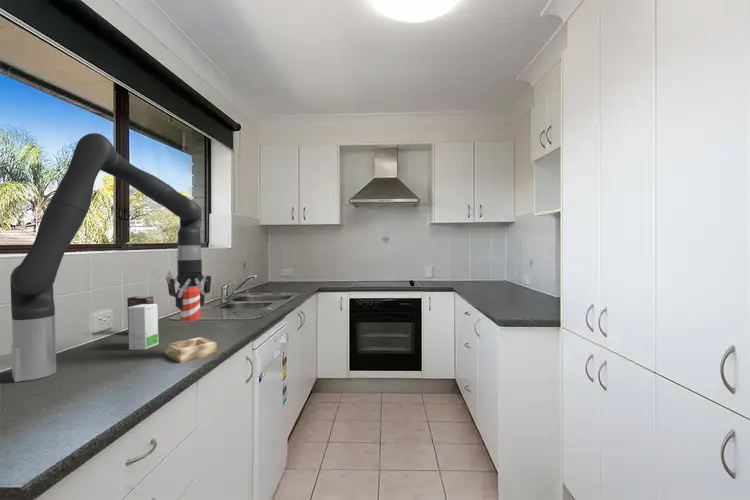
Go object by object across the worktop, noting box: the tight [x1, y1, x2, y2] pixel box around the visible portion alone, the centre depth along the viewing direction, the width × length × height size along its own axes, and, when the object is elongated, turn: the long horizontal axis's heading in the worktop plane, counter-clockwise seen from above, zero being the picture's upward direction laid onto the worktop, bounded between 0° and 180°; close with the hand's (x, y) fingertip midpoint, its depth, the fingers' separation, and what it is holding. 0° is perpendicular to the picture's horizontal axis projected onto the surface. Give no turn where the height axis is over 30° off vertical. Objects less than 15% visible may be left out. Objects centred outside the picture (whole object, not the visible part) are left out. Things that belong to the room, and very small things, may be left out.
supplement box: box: [126, 296, 154, 336], centre depth 156 cm, size 9×5×16 cm, turn 84°
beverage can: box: [179, 286, 201, 323], centre depth 127 cm, size 6×6×12 cm
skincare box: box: [127, 303, 159, 351], centre depth 137 cm, size 8×7×16 cm
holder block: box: [165, 336, 218, 364], centre depth 127 cm, size 12×12×4 cm
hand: (190, 307), depth 127 cm, fingers closed on beverage can, 6 cm apart
